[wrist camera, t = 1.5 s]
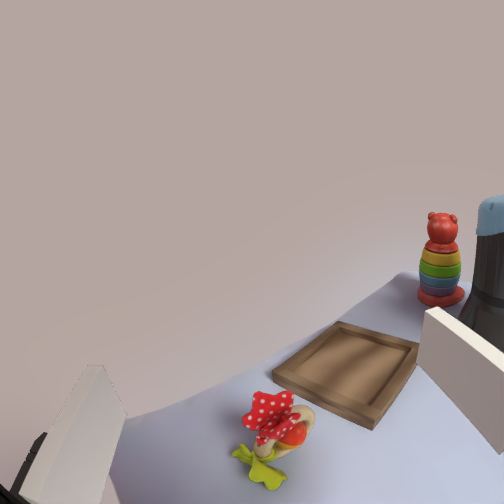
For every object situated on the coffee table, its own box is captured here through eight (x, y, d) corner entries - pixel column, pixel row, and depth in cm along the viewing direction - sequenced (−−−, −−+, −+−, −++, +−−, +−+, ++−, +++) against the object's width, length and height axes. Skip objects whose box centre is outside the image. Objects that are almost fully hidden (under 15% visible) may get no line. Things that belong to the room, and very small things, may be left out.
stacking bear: (466, 294, 47) (473, 212, 43) (449, 313, 43) (458, 220, 38) (428, 283, 57) (430, 206, 52) (406, 299, 52) (408, 213, 48)
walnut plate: (421, 356, 35) (424, 344, 34) (372, 430, 25) (374, 419, 24) (337, 331, 47) (337, 320, 46) (273, 382, 37) (272, 370, 36)
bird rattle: (274, 443, 28) (213, 466, 22) (296, 365, 28) (228, 380, 22) (314, 468, 24) (254, 503, 18) (345, 386, 24) (282, 415, 18)
